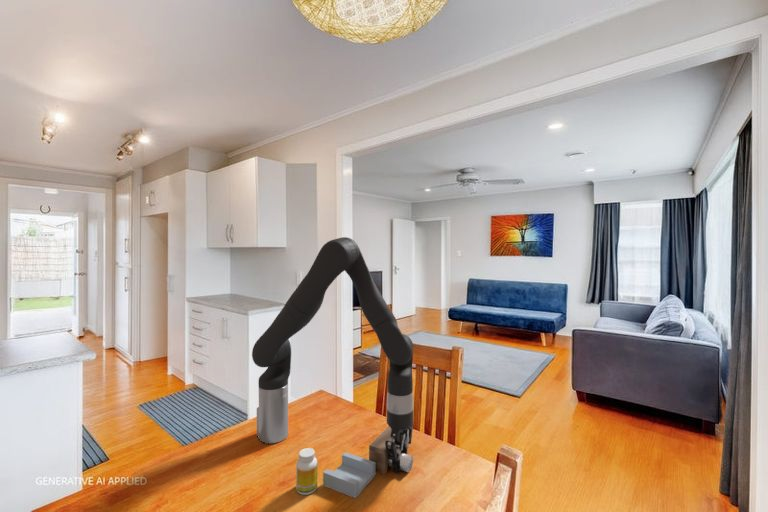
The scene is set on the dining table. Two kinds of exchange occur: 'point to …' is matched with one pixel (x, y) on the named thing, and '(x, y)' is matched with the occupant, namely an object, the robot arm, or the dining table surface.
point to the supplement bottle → (306, 472)
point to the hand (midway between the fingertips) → (399, 466)
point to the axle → (403, 462)
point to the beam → (380, 450)
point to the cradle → (350, 475)
